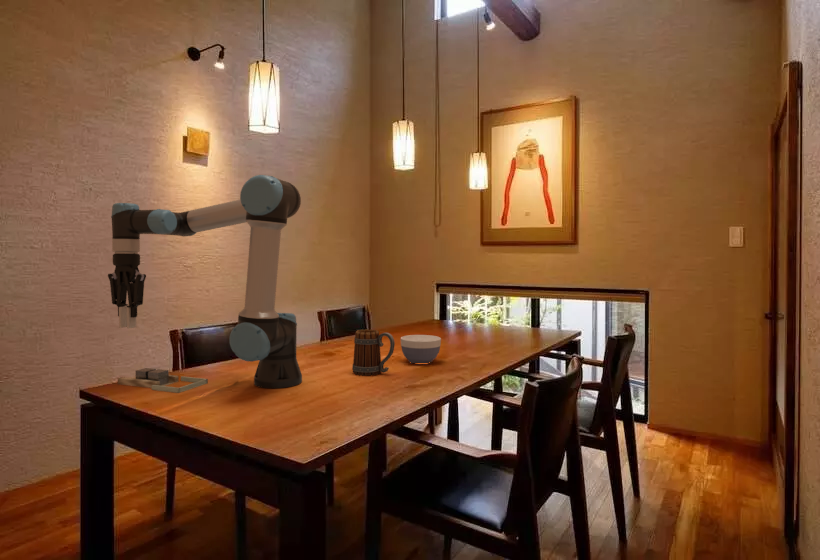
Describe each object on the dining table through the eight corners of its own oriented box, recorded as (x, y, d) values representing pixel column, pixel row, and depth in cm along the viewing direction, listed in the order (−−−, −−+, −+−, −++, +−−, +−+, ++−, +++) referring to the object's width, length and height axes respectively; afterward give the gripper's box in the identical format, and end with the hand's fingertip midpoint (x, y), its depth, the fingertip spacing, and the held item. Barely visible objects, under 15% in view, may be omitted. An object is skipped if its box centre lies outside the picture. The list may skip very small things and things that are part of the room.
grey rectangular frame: (207, 387, 156) (207, 378, 156) (178, 397, 145) (178, 388, 144) (182, 384, 159) (182, 376, 159) (151, 394, 148) (151, 385, 148)
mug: (346, 374, 175) (346, 332, 174) (360, 368, 185) (361, 328, 184) (387, 378, 169) (387, 335, 168) (399, 372, 179) (399, 330, 178)
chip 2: (168, 382, 156) (168, 370, 156) (158, 385, 152) (158, 372, 152) (158, 381, 157) (158, 369, 157) (148, 384, 153) (148, 371, 153)
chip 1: (156, 381, 157) (155, 368, 157) (145, 384, 154) (145, 371, 153) (146, 380, 159) (146, 367, 158) (135, 383, 155) (135, 370, 155)
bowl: (398, 358, 204) (398, 334, 203) (437, 357, 205) (437, 334, 205) (402, 366, 188) (402, 341, 187) (444, 366, 190) (444, 341, 189)
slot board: (178, 386, 158) (178, 375, 158) (155, 393, 149) (155, 382, 149) (141, 381, 163) (141, 371, 162) (117, 388, 154) (117, 378, 154)
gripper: (155, 253, 158) (156, 327, 159) (117, 252, 163) (119, 324, 164) (135, 253, 150) (137, 330, 152) (96, 252, 155) (98, 327, 157)
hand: (127, 327), depth 158 cm, fingers open, 3 cm apart
